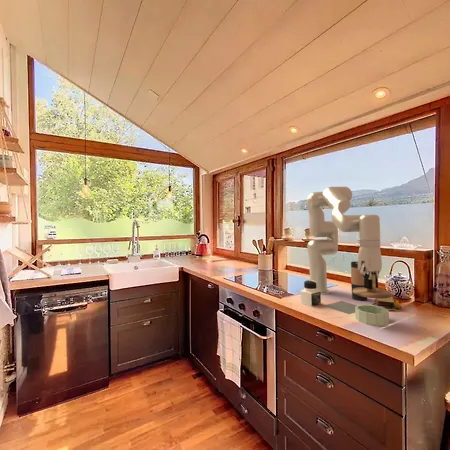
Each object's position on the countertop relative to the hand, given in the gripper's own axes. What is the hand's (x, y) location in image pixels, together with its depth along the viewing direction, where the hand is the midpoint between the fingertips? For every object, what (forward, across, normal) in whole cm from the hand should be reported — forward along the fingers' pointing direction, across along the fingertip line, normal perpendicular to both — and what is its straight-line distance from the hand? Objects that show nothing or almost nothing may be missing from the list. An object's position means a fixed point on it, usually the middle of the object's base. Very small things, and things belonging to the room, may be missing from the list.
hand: (371, 287), depth 104 cm
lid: (+3, 0, 0) cm, 3 cm away
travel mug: (+14, -23, -20) cm, 34 cm away
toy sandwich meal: (+15, -21, -6) cm, 27 cm away
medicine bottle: (+14, +4, -29) cm, 33 cm away
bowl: (+14, 0, 0) cm, 14 cm away
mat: (+14, -5, -16) cm, 22 cm away
